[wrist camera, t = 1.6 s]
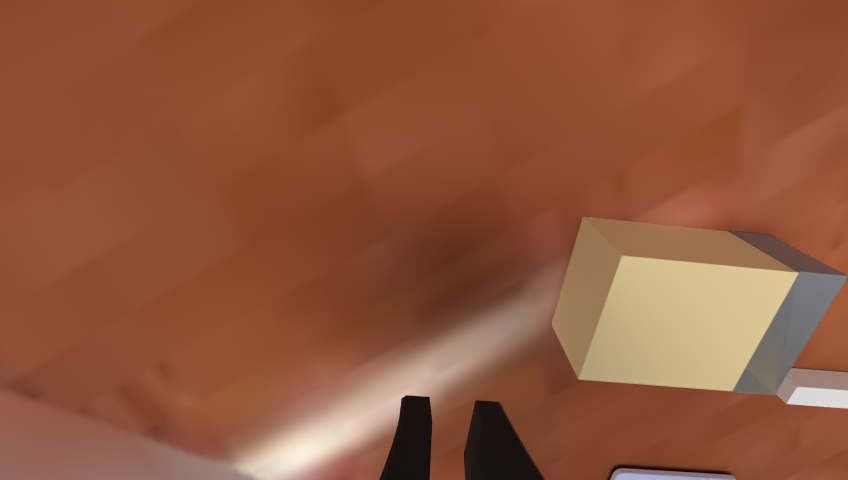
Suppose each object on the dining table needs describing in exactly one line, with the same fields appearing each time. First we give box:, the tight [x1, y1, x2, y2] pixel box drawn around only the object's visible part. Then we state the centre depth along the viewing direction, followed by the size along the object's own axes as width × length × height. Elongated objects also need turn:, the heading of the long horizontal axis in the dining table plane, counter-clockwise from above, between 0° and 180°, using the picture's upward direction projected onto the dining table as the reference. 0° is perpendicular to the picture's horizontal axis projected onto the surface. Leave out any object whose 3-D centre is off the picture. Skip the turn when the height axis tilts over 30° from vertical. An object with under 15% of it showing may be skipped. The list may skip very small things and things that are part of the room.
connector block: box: [551, 217, 848, 395], centre depth 19 cm, size 6×9×4 cm
